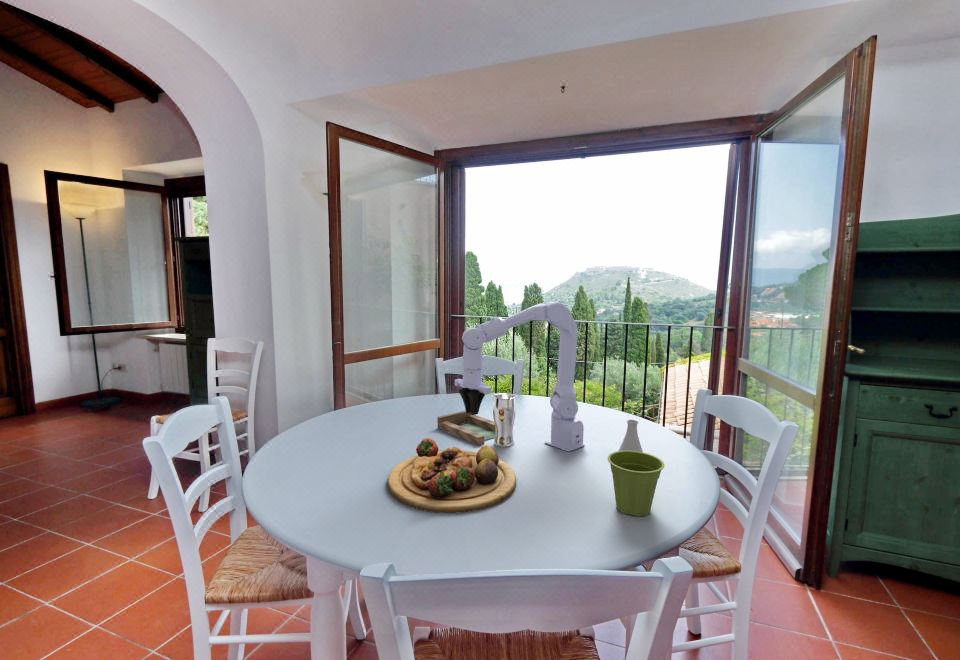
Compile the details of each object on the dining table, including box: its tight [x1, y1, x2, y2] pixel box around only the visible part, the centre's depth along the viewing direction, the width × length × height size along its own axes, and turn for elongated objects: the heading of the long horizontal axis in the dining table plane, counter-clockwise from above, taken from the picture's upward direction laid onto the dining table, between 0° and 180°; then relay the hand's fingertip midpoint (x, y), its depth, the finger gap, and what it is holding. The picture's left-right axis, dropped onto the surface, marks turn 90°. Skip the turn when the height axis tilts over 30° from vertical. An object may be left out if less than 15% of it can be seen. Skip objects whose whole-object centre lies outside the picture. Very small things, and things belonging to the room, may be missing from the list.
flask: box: [618, 419, 644, 453], centre depth 135 cm, size 7×7×10 cm
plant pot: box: [607, 450, 665, 517], centre depth 103 cm, size 12×12×11 cm
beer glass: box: [492, 392, 517, 448], centre depth 143 cm, size 7×7×15 cm
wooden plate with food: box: [387, 437, 517, 514], centre depth 116 cm, size 32×32×8 cm
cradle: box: [437, 409, 496, 446], centre depth 154 cm, size 21×14×4 cm
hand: (472, 413), depth 139 cm, fingers closed
